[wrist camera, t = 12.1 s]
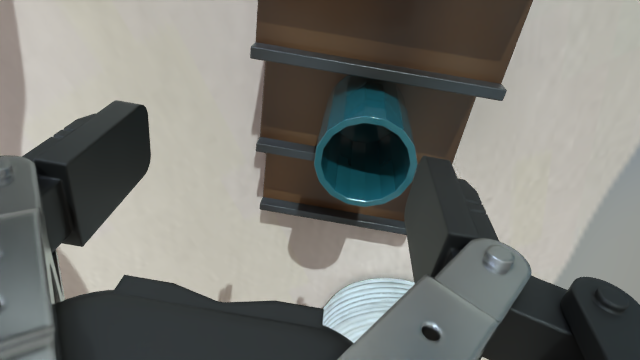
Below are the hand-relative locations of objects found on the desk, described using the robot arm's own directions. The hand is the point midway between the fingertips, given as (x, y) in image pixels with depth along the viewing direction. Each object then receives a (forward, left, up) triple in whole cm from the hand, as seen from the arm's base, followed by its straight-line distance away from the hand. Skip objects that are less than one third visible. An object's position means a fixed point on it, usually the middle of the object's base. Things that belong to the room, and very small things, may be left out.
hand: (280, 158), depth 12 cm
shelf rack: (+3, -5, -23) cm, 24 cm away
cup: (+3, -5, -18) cm, 19 cm away
